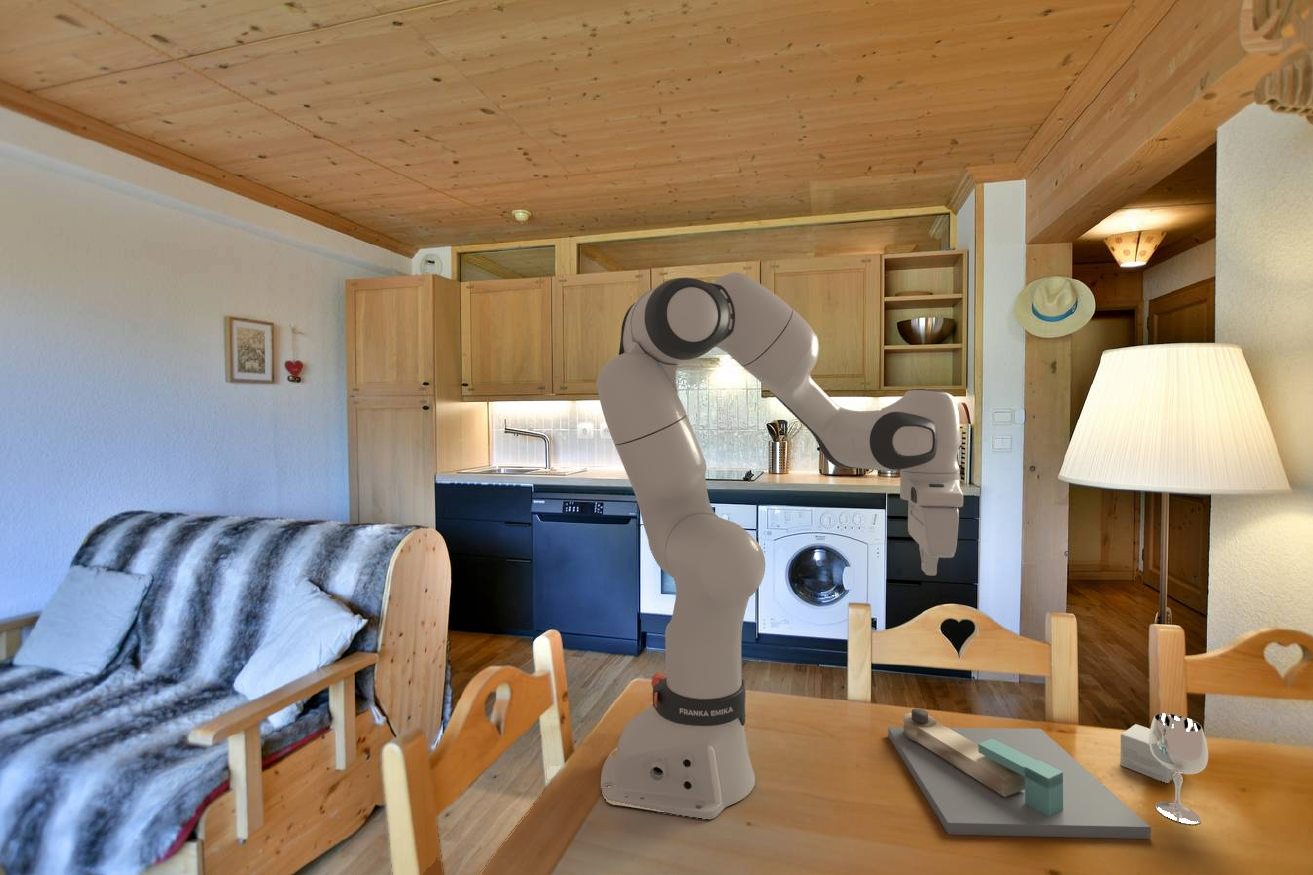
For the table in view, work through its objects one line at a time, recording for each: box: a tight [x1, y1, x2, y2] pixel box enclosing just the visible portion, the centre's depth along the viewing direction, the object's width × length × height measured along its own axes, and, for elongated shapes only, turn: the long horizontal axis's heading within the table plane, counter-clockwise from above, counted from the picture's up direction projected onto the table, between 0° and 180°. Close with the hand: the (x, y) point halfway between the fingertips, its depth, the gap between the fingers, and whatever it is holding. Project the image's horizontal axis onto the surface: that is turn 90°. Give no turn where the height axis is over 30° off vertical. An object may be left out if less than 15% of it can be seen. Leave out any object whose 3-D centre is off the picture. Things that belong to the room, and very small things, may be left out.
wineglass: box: [1149, 712, 1209, 826], centre depth 76 cm, size 6×6×12 cm
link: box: [902, 708, 1025, 797], centre depth 87 cm, size 18×5×4 cm, turn 22°
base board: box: [887, 726, 1152, 840], centre depth 84 cm, size 24×23×2 cm
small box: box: [1119, 723, 1175, 784], centre depth 86 cm, size 6×6×5 cm
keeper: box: [978, 739, 1063, 817], centre depth 79 cm, size 10×3×5 cm, turn 26°
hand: (929, 573), depth 96 cm, fingers closed
